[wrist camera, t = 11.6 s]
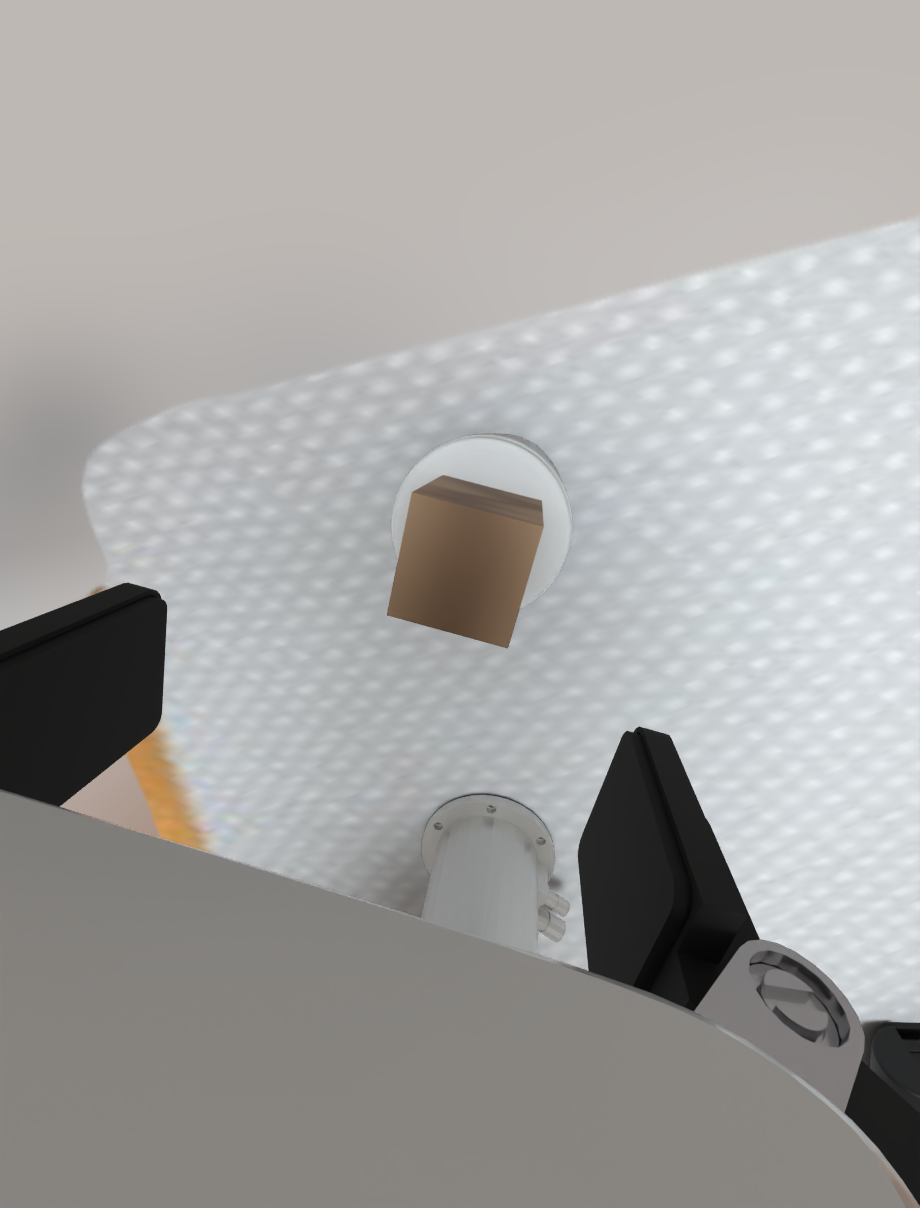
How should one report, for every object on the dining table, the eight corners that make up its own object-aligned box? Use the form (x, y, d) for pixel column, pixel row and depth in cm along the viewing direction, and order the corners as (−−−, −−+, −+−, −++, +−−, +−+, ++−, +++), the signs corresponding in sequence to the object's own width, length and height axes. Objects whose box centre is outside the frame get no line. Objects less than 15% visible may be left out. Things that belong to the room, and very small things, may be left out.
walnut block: (541, 500, 26) (543, 526, 19) (514, 594, 28) (507, 648, 21) (443, 474, 26) (411, 492, 20) (421, 569, 28) (386, 615, 21)
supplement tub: (577, 539, 41) (597, 597, 27) (461, 573, 43) (425, 644, 29) (541, 412, 38) (544, 405, 25) (420, 455, 41) (359, 472, 27)
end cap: (854, 1016, 52) (898, 1099, 46) (936, 1018, 51) (994, 1103, 44) (848, 1086, 55) (889, 1172, 49) (926, 1089, 54) (978, 1178, 47)
